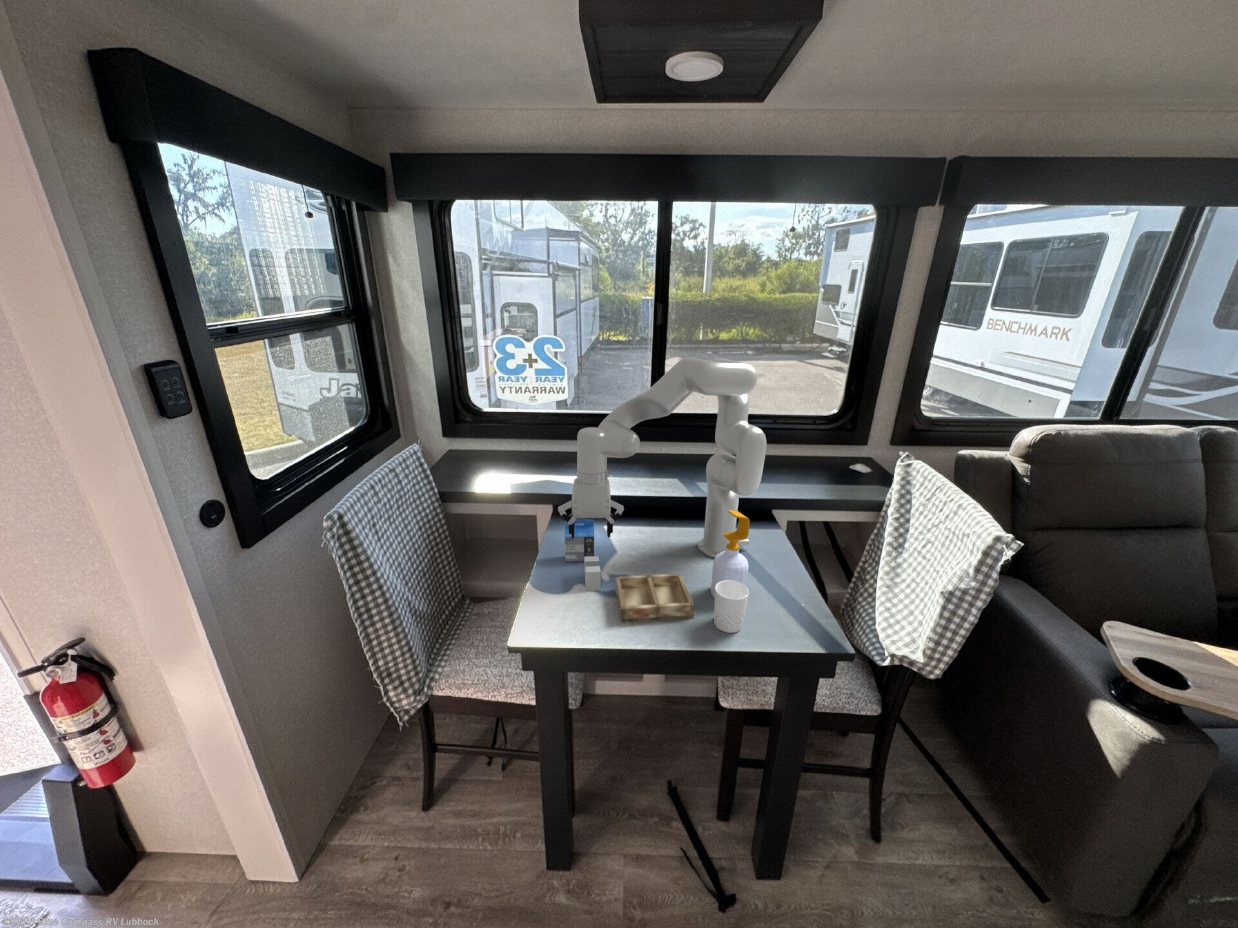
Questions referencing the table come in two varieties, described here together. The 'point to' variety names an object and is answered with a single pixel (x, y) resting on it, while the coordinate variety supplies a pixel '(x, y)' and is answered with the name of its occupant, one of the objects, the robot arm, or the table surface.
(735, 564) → the spray bottle
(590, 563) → the grey banded white block
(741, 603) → the white cup
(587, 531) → the label tape box
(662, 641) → the table surface
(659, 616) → the wooden compartment tray
